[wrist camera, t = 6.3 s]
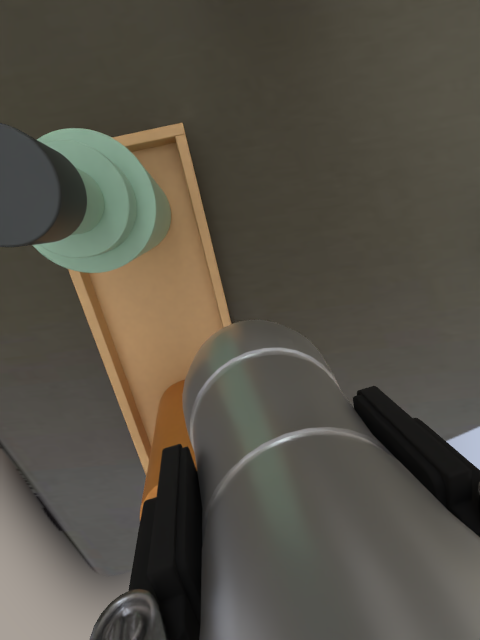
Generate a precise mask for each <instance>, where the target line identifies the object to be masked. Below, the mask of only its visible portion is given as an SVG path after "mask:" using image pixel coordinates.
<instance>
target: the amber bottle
mask: <svg viewBox="0 0 480 640" xmlns="http://www.w3.org/2000/svg"><path fill="white" fill-rule="evenodd" d="M184 382H185V380H182V381H179V382H177V383H175V384H173V385H172V386H170V387H169V388H168V389H167V390H166V391H165V392H164V394H163V395H162V397H161V399H160V402H159V408H158V413H157V419H156V425H155V430H154V436H153V442H152V447H151V453H150V459H149V464H148V470H147V475H146V481H145V487H144V492H143V498H142V504H141V509H140V520H141V514H142V509H143V504H144V502H145V501H146V500H148V499H152V498H155V497H157V489H158V481H159V473H160V465H161V457H162V450H163V449H164V448H167V447H170V446H174V445H177V444H181V445H182V447H187V446H188V448H189V450H190V453H191V456H192V458H193V461H194V464H195V467H196V460H195V453H194V450H193V447H192V445H191V442H190V439H189V435H188V431H187V427H186V423H185V418H184V413H183V402H182V393H183V388H184ZM196 470H197V467H196Z"/></svg>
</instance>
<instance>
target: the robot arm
mask: <svg viewBox="0 0 480 640" xmlns="http://www.w3.org/2000/svg"><path fill="white" fill-rule="evenodd" d="M353 403H354V409H355V411H356V412H357V414H358V415H359V416H360V418H361V419H362V421H363V422H364V423H365V425H366V426H367V428H368V429H369V430H370V432H371V433H372V434H373V436H374V437H375V438H376V439H377V440H378V441H379V442H380V443H382V444H383V445H384V447H385V448H386V449H387V450H388V451H389V452H390V453H391V454H392V455H393V456H394V457H395V458H396V459H397V460H398V461H399V462H400V463H401V464H402V465H403V466H404V467H405V468H406V469H407V470H408V471H409V472H410V473H411V474H412V475H413V476H414V477H415V478H416V479H417V480H418V481H419V482H420V483H421V484H422V485H423V486H424V487H425V488H426V489H427V490H428V491H429V492H430V493H431V494H432V495H433V496H434V497H435V498H436V499H437V500H438V501H439V502H440V503H441V504H442V505H443V506H444V507H445V508H446V509H447V510H448V511H449V512H451V513H452V514H453V515H454V516H455V517H456V518H458V519H459V520H460V521H461V522H462V523H463V524H465V525H466V526H467V527H468V528H469V529H471V530H472V531H473V532H474V533H475V534H476V535H478V536H479V537H480V470H479V469H478V468H476V467H475V466H474V465H473V464H472V463H470V462H469V461H468V460H467V459H466V458H465V457H463V456H462V455H461V454H460V453H459V452H458V451H456V450H455V449H454V448H453V447H452V446H450V445H449V444H448V443H447V442H446V441H445V440H443V439H442V438H441V437H440V436H439V435H438V434H436V433H435V432H434V431H433V430H432V429H431V428H429V427H428V426H427V425H426V424H425V423H423V422H422V421H421V420H419V419H418V418H412V417H410V416H409V415H408V414H407V413H406V412H405V411H404V410H402V409H401V408H400V407H399V406H398V405H397V404H396V403H394V402H393V401H392V400H391V399H390V398H389V397H388V396H386V395H385V394H384V393H383V392H382V391H381V390H380V389H378V388H377V387H376V386H372V387H369V388H365V389H362V390H358V391H357V396H354V397H353ZM202 511H203V509H202V502H201V495H200V488H199V481H198V474H197V470H196V467H195V464H194V461H193V458H192V456H191V453H190V450H189V448H188V446H187V447H182V445H181V444H177V445H174V446H170V447H167V448H164V449H163V450H162V457H161V465H160V473H159V481H158V489H157V497H155V498H152V499H148V500H146V501H145V502H144V504H143V509H142V514H141V520H140V526H139V532H138V538H137V544H136V550H135V556H134V562H133V568H132V574H131V580H130V585H129V591H128V592H126V593H124V594H122V595H120V596H119V597H118V598H116V599H115V600H114V601H112V602H111V603H110V604H109V605H108V607H107V608H106V609H105V610H104V611H103V612H102V613H101V615H100V617H99V619H98V620H97V622H96V624H95V625H94V628H93V631H92V634H91V637H90V640H199V637H200V626H201V569H202V546H203V543H202Z"/></svg>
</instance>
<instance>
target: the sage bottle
mask: <svg viewBox="0 0 480 640" xmlns="http://www.w3.org/2000/svg"><path fill="white" fill-rule="evenodd" d="M170 223H171V209H170V204H169V202H168V199H167V197H166V195H165V193H164V192H163V190H162V189H161V188H160V187H159V185H158V184H157V183H156V182H155V180H154V179H153V178H152V177H151V175H150V174H149V173H148V172H147V170H146V169H145V168H144V167H143V165H142V164H141V163H140V162H139V160H138V159H137V158H136V157H135V156H134V154H132V153H131V152H130V151H129V150H128V149H127V148H126V147H125V146H123V145H122V144H121V143H119V142H118V141H116V140H115V139H113V138H111V137H109V136H107V135H105V134H102V133H100V132H97V131H93V130H89V129H82V128H67V129H60V130H57V131H53V132H50V133H48V134H46V135H44V136H42V137H40V138H39V139H37V140H36V139H34V138H32V137H31V136H29V135H27V134H25V133H23V132H22V131H20V130H18V129H16V128H14V127H11V126H9V125H6V124H2V123H0V247H19V246H27V245H33V246H34V247H35V248H36V249H37V250H38V251H39V252H40V253H41V254H43V255H44V256H45V257H46V258H48V259H49V260H51V261H53V262H54V263H56V264H58V265H60V266H62V267H64V268H67V269H70V270H74V271H78V272H84V273H101V272H107V271H111V270H114V269H117V268H120V267H122V266H124V265H126V264H127V263H129V262H131V261H132V260H134V259H136V258H137V257H139V256H141V255H142V254H144V253H146V252H147V251H149V250H151V249H152V248H154V247H155V246H157V245H158V244H159V243H160V242H161V241H162V240H163V239H164V238H165V236H166V235H167V232H168V230H169V227H170Z"/></svg>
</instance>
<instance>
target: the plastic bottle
mask: <svg viewBox="0 0 480 640" xmlns="http://www.w3.org/2000/svg"><path fill="white" fill-rule="evenodd" d="M182 402H183V413H184V418H185V423H186V427H187V431H188V435H189V439H190V442H191V445H192V447H193V450H194V453H195V460H196V467H197V474H198V481H199V488H200V495H201V502H202V509H203V511H202V543H203V546H202V569H201V626H200V637H199V640H480V537H479V536H478V535H476V534H475V533H474V532H473V531H472V530H471V529H469V528H468V527H467V526H466V525H465V524H463V523H462V522H461V521H460V520H459V519H458V518H456V517H455V516H454V515H453V514H452V513H451V512H449V511H448V510H447V509H446V508H445V507H444V506H443V505H442V504H441V503H440V502H439V501H438V500H437V499H436V498H435V497H434V496H433V495H432V494H431V493H430V492H429V491H428V490H427V489H426V488H425V487H424V486H423V485H422V484H421V483H420V482H419V481H418V480H417V479H416V478H415V477H414V476H413V475H412V474H411V473H410V472H409V471H408V470H407V469H406V468H405V467H404V466H403V465H402V464H401V463H400V462H399V461H398V460H397V459H396V458H395V457H394V456H393V455H392V454H391V453H390V452H389V451H388V450H387V449H386V448H385V447H384V445H383V444H382V443H380V442H379V441H378V440H377V439H376V438H375V437H374V436H373V434H372V433H371V432H370V430H369V429H368V428H367V426H366V425H365V423H364V422H363V421H362V419H361V418H360V416H359V415H358V414H357V412H356V411H355V409H354V408H353V407H352V405H351V404H350V402H349V401H348V400H347V398H346V397H345V395H344V394H343V393H342V391H341V390H340V388H339V386H338V383H337V381H336V379H335V376H334V375H333V373H332V371H331V369H330V368H329V366H328V364H327V363H326V361H325V360H324V358H323V356H322V355H321V353H320V352H319V350H318V349H317V348H316V347H315V346H314V344H313V343H312V342H311V341H310V340H309V339H308V338H306V337H305V336H303V335H302V334H300V333H299V332H297V331H295V330H293V329H290V328H288V327H286V326H283V325H281V324H278V323H275V322H272V321H266V320H245V321H241V322H236V323H233V324H231V325H229V326H226V327H224V328H222V329H221V330H219V331H218V332H216V333H215V334H213V335H212V336H211V337H210V338H209V339H208V340H207V341H206V342H205V343H204V344H203V345H202V346H201V348H200V349H199V351H198V352H197V354H196V355H195V357H194V359H193V362H192V364H191V366H190V369H189V371H188V374H187V376H186V379H185V382H184V388H183V393H182Z"/></svg>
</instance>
